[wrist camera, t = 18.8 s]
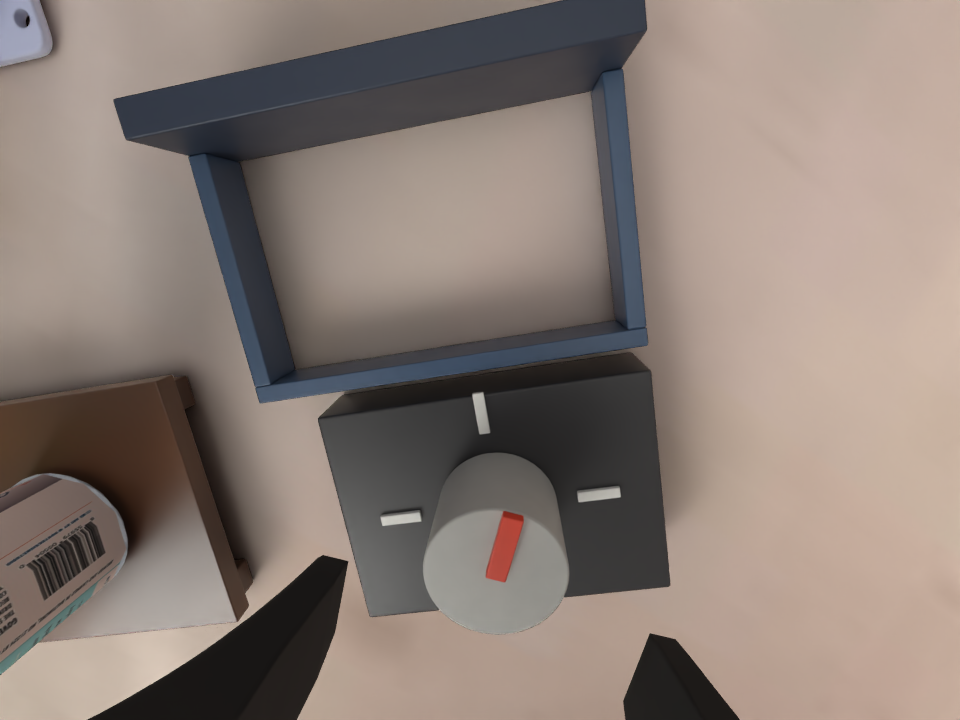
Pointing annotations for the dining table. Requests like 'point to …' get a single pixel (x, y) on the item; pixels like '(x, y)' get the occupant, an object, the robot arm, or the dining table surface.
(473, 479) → the dial
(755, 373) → the dining table surface
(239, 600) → the square wooden board
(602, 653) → the dining table surface
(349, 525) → the panel
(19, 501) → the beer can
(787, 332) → the dining table surface
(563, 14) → the bin
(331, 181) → the dining table surface
